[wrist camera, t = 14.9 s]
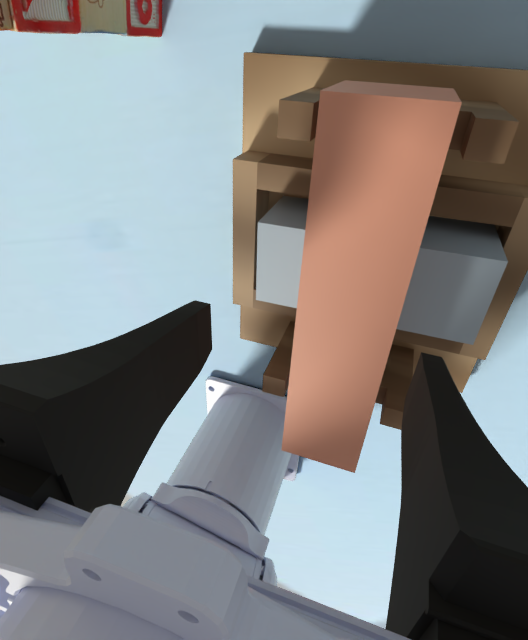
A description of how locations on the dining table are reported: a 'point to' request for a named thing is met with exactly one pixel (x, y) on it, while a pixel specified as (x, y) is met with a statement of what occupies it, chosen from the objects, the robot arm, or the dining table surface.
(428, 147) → the terracotta rectangular bar
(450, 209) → the jig
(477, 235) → the pale grey pillar block
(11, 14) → the stack of blocks
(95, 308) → the dining table surface
